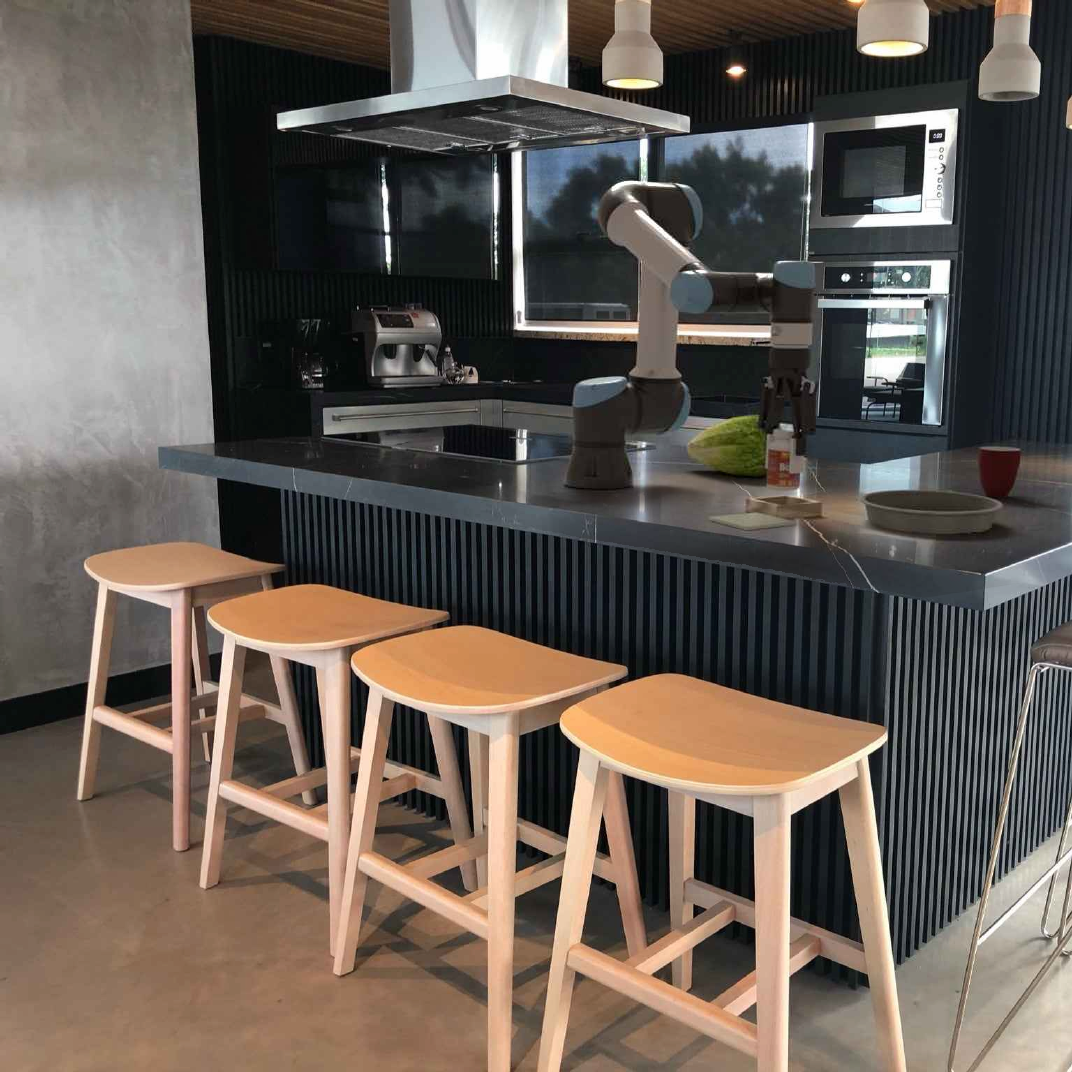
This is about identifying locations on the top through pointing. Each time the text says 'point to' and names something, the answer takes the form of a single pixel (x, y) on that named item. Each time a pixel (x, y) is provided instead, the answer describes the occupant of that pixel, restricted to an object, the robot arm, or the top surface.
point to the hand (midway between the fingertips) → (783, 470)
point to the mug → (998, 470)
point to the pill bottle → (781, 462)
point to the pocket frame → (784, 506)
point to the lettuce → (732, 447)
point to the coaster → (752, 521)
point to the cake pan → (930, 511)
